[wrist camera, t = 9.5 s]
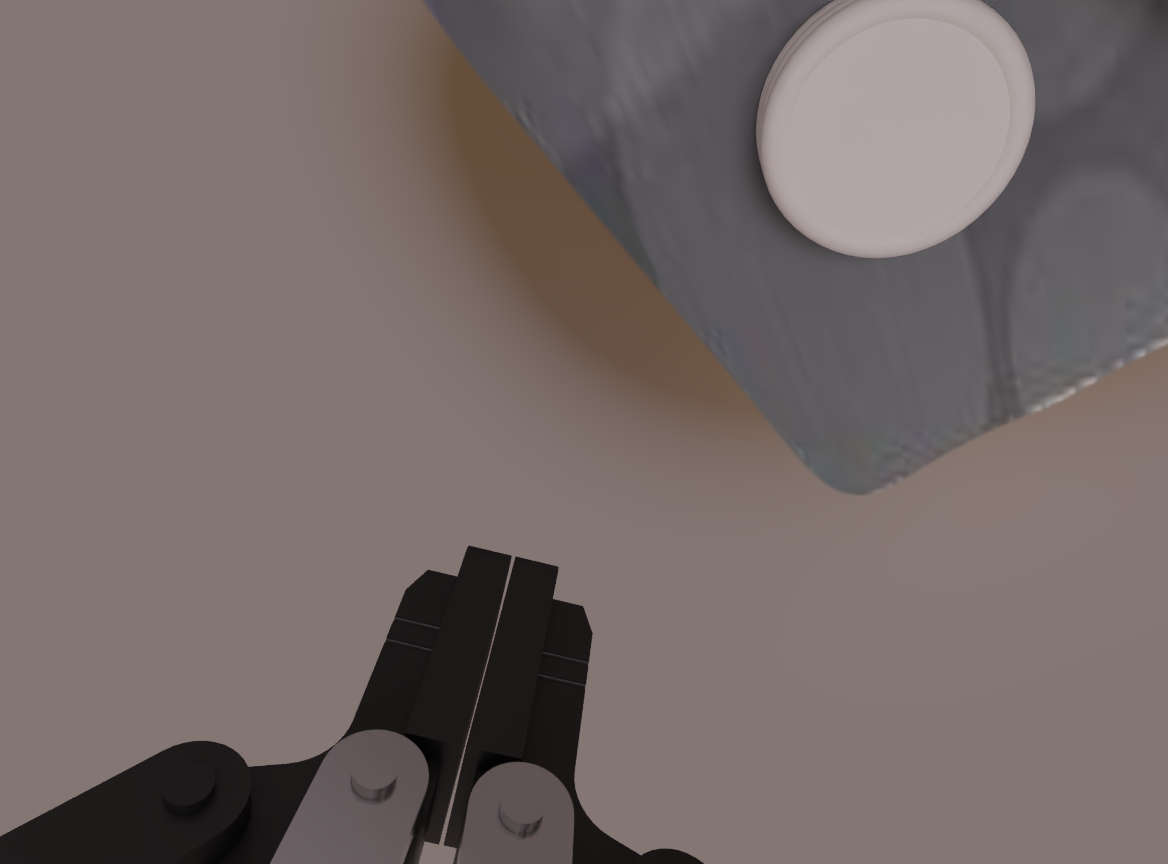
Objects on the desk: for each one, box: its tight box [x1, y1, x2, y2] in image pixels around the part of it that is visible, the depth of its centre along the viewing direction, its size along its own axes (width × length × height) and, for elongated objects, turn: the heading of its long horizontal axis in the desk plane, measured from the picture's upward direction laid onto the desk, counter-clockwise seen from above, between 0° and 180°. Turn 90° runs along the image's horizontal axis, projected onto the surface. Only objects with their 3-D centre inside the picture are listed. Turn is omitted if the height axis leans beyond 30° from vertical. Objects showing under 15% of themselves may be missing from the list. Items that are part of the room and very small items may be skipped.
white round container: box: [756, 0, 1035, 258], centre depth 33 cm, size 10×10×4 cm
